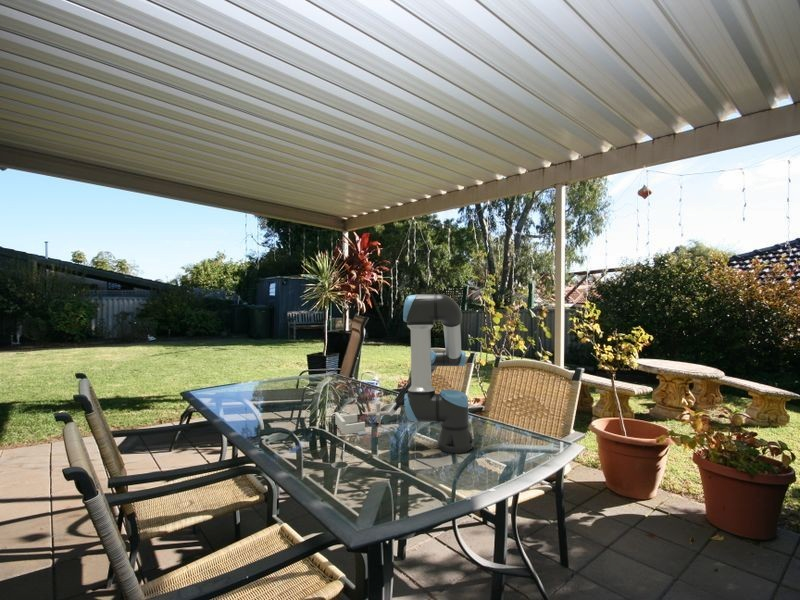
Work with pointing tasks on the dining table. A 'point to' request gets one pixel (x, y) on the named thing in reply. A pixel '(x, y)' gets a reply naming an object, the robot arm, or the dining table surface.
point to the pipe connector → (378, 413)
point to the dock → (349, 428)
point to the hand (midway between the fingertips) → (389, 414)
